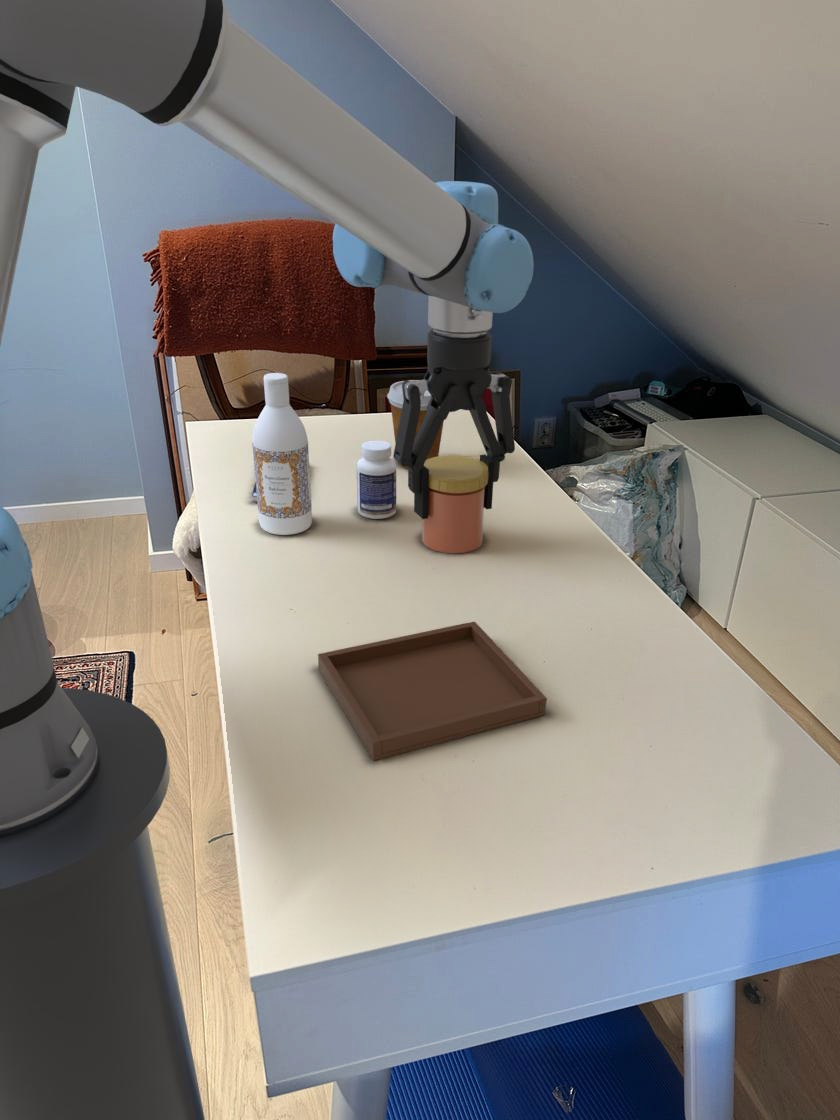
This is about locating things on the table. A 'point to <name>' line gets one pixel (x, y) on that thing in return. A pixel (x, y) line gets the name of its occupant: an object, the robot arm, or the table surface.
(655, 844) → the table surface
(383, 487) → the pill bottle
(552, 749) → the table surface
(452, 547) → the jar
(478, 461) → the lid
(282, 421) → the bath foam
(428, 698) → the tray
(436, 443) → the disposable coffee cup
